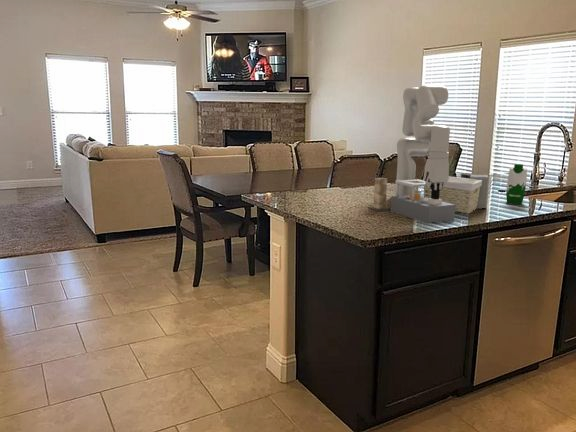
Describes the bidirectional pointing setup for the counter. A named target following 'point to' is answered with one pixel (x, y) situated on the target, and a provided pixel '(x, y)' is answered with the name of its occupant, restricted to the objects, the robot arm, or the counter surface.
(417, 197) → the plunger
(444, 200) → the storage basket
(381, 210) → the pad
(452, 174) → the potted plant
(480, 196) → the skincare box
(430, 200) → the on button
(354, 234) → the counter surface
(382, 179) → the wooden rectangular block
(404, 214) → the grey housing
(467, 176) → the supplement container
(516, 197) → the milk carton
